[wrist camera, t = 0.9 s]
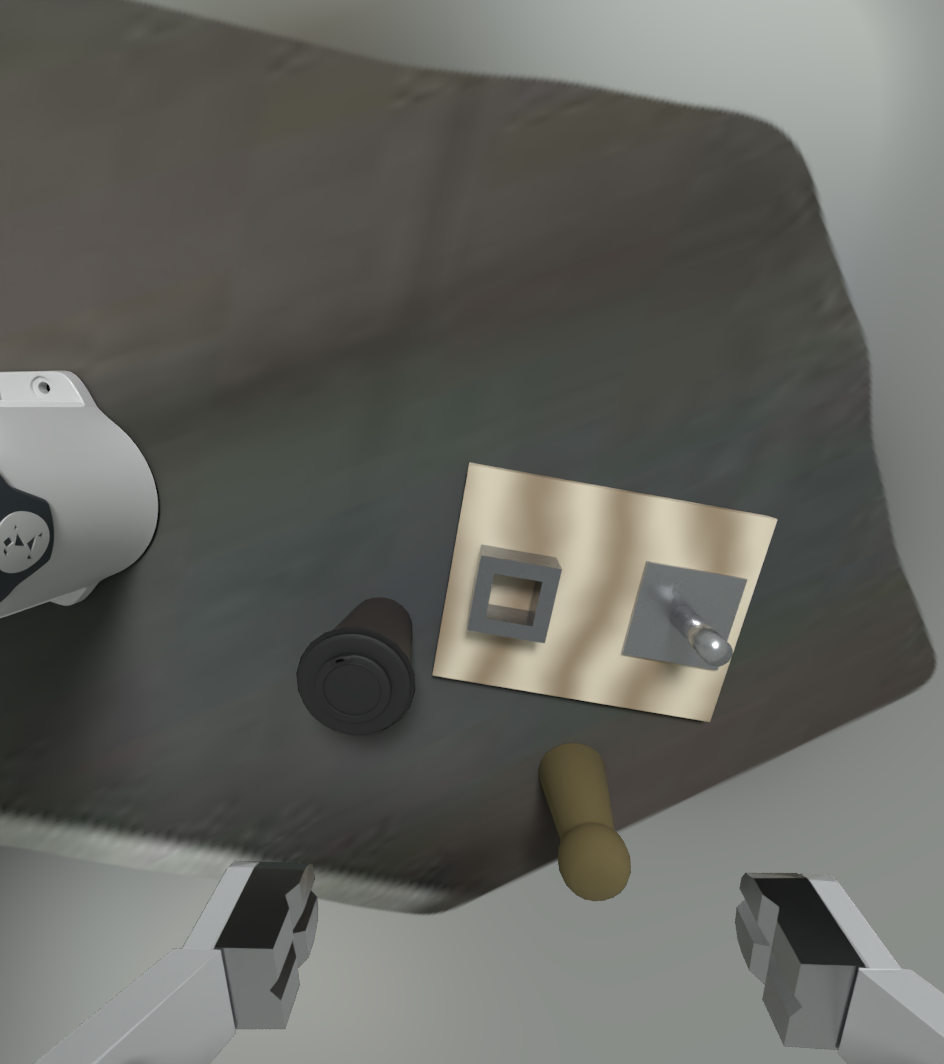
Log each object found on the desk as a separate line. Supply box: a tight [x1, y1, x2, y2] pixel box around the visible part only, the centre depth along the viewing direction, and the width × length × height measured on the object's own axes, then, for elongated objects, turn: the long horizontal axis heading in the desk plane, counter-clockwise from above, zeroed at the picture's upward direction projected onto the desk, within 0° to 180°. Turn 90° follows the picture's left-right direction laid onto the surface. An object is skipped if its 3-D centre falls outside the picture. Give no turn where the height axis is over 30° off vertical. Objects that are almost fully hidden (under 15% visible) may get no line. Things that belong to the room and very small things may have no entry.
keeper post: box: [621, 561, 747, 670], centre depth 37 cm, size 8×8×6 cm
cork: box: [539, 743, 631, 901], centre depth 40 cm, size 6×6×11 cm
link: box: [467, 544, 562, 643], centre depth 39 cm, size 6×6×3 cm
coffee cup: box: [296, 598, 415, 735], centre depth 38 cm, size 8×8×10 cm
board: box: [433, 463, 777, 722], centre depth 41 cm, size 24×18×1 cm
